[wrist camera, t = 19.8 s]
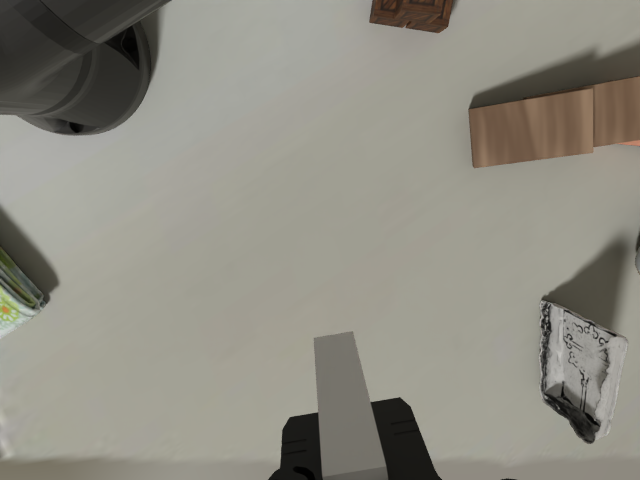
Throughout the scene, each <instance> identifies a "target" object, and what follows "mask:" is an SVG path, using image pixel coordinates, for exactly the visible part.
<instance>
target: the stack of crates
mask: <svg viewBox="0 0 640 480" xmlns="http://www.w3.org/2000/svg"><path fill="white" fill-rule="evenodd" d="M452 3H453V0H373V1H372V8H371V14H370V21H369V23H375V24H382V25H388V26H394V27H401V28H403V27H404V26H405V25H406V28H409V29H415V30H422V31H428V32H435V33H440V32H441V31H443V30H444V29H446V28H447V27H448V24H449V19H450V14H451V8H452Z"/></svg>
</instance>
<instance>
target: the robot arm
mask: <svg viewBox="0 0 640 480" xmlns="http://www.w3.org/2000/svg"><path fill="white" fill-rule="evenodd" d="M170 1H171V0H0V115H16V116H18V117H20V118H22V119H23V120H25V121H27V122H28V123H30V124H32V125H34V126H36V127H38V128H41V129H43V130H46V131H49V132H53V133H57V134H62V135H73V136H75V135H94V134H99V133H103V132H106V131H109V130H111V129H113V128H115V127H117V126H119V125H120V124H122V123H123V122H125V121H126V120H127V119H128V118H129V117H130V116H131V115H132V114H133V113H134V112H135V111H136V109H137V108H138V107H139V105H140V104H141V102H142V100H143V98H144V96H145V93H146V91H147V88H148V84H149V79H150V71H151V60H150V51H149V46H148V42H147V38H146V35H145V33H144V30H143V28H142V26H141V24H140V21H139V20H141V19H143V18H144V17H146V16H147V15H149V14H151V13H152V12H154V11H155V10H157V9H159V8H160V7H162V6H163V5H165V4H167V3H168V2H170ZM314 351H315V367H316V383H317V399H318V413H312V414H306V415H300V416H294V417H290V418H289V419H288V421H287V423H286V425H285V426H284V428H283V430H282V447H281V465H280V469H278V470H277V471H275V472H274V473H273V474H272V476H271V477H270V478H269V479H268V480H442V479H441V478H440V477H439V476H438V474H437V473H436V471H435V469H434V467H433V464H432V461H431V459H430V456H429V453H428V451H427V448H426V446H425V443H424V440H423V438H422V435H421V433H420V431H419V427H418V425H417V422H416V420H415V417H414V414H413V412H412V409H411V407H410V406H409V405H408V404H407V403H406V402H405V401H403V400H402V399H401V398H400V397H399V398H393V399H387V400H381V401H376V402H370V399H369V395H368V391H367V387H366V383H365V379H364V375H363V371H362V367H361V363H360V359H359V355H358V351H357V347H356V343H355V339H354V335H353V331H352V332H346V333H340V334H334V335H328V336H323V337H317V338H314ZM502 480H515V479H502Z"/></svg>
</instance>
